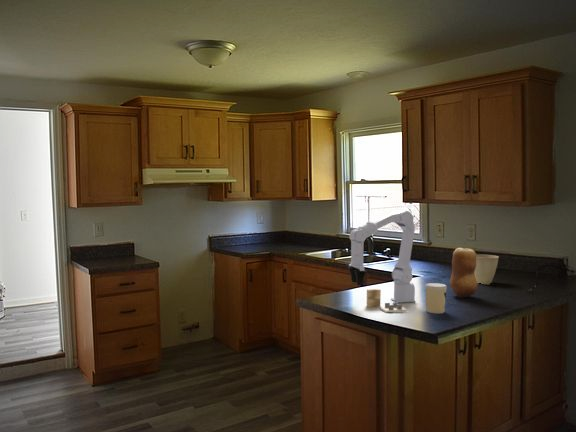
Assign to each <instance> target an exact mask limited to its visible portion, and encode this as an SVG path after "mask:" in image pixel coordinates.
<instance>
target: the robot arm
mask: <svg viewBox="0 0 576 432" xmlns="http://www.w3.org/2000/svg"><path fill="white" fill-rule="evenodd" d="M414 217H415V216H414V215H413V214H412V213H411V212H410V211H408V210H398V209H396V210H394V211H391V212H390V213H388V214H386V215H385V216H383V217H381V218H380V219H379V220H377V221H375V222H373V221H367V222H366V223H365V224H364V225H362V226H359V227H357V228H355V229H352V230H351V232H350V233H349V235H348V238H349V240H350V242H351V245H350V249H351V250H350V257H351V258H350V259H351V260H350V263H349V264H348V267H347V269H348V271H349V273H350V278H351V282H352V283H356V285H357V286H363V282H364V280H365V276H366V274H367V272H368V271H367V270H365V264H364V242H365V240H366V239H367V238H369V237H371V236H373V235H374V234H375V235H376V234H377V233H378V231H379V229H380V228H383V227H385V226H387V225H389V224H391V223H395V224H396V225H397V226H399V228H401V230H402V235H401V242H400V247H399V254H398V260H397V262H396V263H395V264H394V268H393V270H391V271H392V272H391V278H392V279H393V285H394V286H393V290H394V291H393V297H391V298H390V300H392V301H393V302H394V303H396V302H398V303H414V302H416V300H415V299H416V298H415V295H416V289H415V288H416V287H415V284H414V282H412V280H413V273H412V271H413V268H412V267H411V264H410V263H411V256H412V250H413V244H414V236H415V231H416V229H415V228H416V226H415V222H414Z"/></svg>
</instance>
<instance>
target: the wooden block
mask: <svg viewBox="0 0 576 432" xmlns="http://www.w3.org/2000/svg"><path fill="white" fill-rule="evenodd" d="M381 298H382V297H381V289H379V288H369V289H366V307H367V308H380V307H381Z"/></svg>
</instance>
